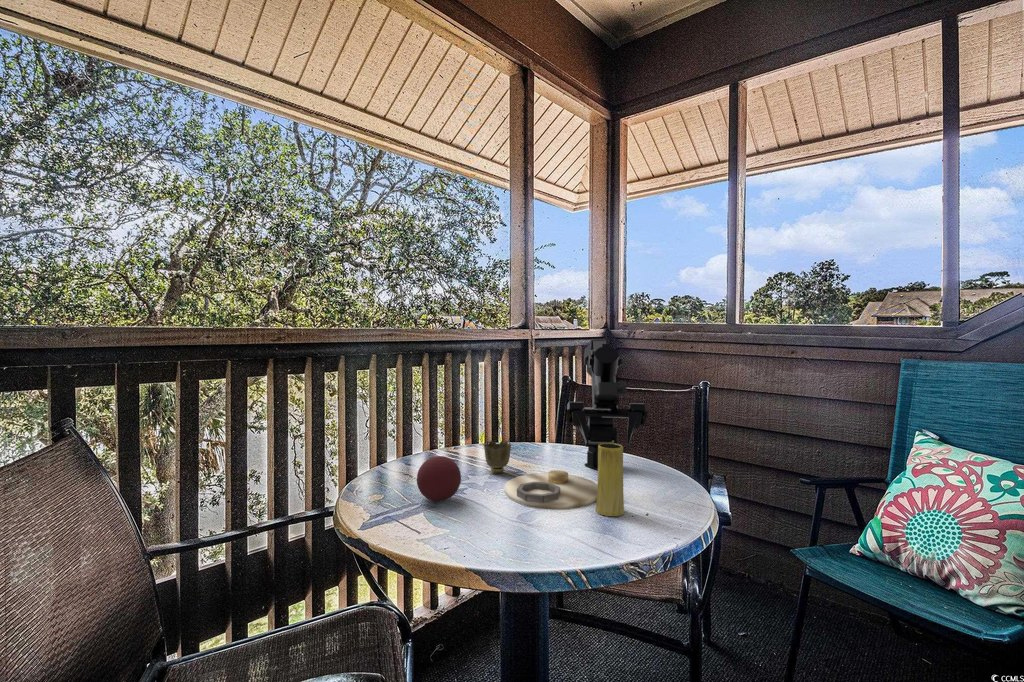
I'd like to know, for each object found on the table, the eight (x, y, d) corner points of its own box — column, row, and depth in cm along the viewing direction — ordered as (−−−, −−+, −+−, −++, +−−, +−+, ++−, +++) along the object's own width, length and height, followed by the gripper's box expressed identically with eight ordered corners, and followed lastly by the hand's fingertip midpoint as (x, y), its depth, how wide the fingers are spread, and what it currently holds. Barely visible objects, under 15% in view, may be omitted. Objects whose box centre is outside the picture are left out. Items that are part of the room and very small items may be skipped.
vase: (592, 514, 100) (593, 447, 100) (598, 505, 106) (599, 441, 106) (622, 519, 98) (622, 450, 98) (626, 508, 104) (627, 443, 103)
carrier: (561, 472, 131) (561, 461, 131) (621, 497, 111) (621, 484, 111) (487, 485, 119) (487, 473, 119) (539, 516, 99) (539, 501, 99)
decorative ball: (449, 510, 102) (449, 464, 102) (408, 505, 105) (408, 460, 105) (467, 495, 112) (468, 453, 111) (429, 490, 115) (430, 449, 115)
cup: (512, 469, 133) (512, 440, 133) (509, 477, 126) (509, 447, 126) (486, 468, 134) (486, 440, 134) (481, 476, 127) (481, 446, 127)
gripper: (567, 368, 115) (566, 422, 104) (646, 369, 113) (654, 424, 102) (567, 396, 123) (566, 449, 112) (641, 398, 121) (648, 452, 110)
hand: (607, 443), depth 109 cm, fingers open, 9 cm apart
